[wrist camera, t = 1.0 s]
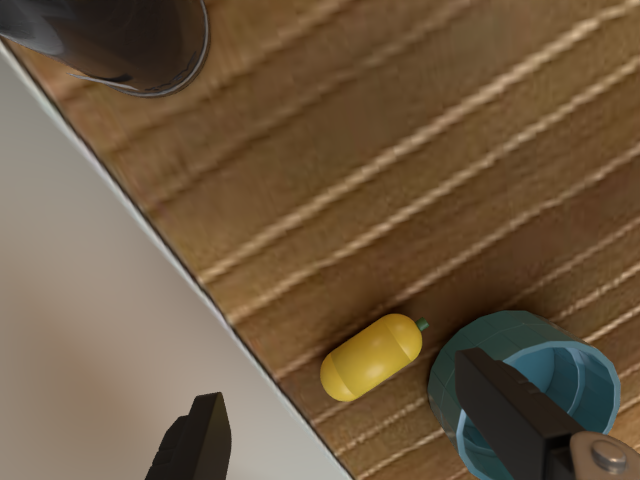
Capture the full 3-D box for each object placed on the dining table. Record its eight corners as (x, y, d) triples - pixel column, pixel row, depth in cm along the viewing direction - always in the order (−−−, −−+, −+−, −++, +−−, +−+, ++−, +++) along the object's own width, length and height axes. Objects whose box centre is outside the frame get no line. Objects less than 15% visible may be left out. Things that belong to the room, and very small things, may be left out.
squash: (334, 386, 30) (342, 422, 26) (308, 356, 29) (313, 388, 25) (425, 324, 30) (448, 351, 26) (402, 291, 29) (423, 313, 24)
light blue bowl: (395, 389, 31) (421, 440, 25) (501, 278, 30) (553, 306, 24) (488, 454, 35) (529, 512, 29) (587, 359, 33) (650, 400, 27)
